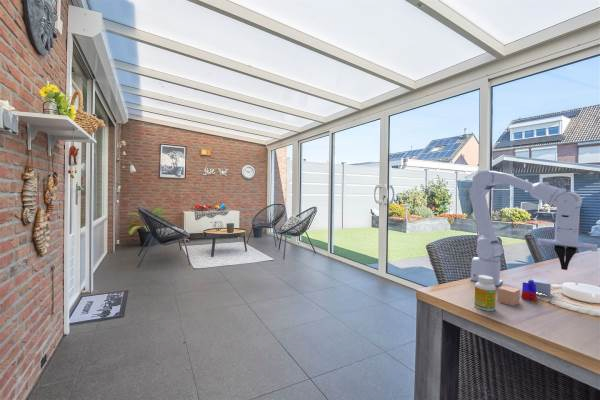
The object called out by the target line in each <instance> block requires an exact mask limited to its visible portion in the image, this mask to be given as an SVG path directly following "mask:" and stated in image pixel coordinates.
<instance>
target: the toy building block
mask: <svg viewBox="0 0 600 400" xmlns="http://www.w3.org/2000/svg"><path fill="white" fill-rule="evenodd" d="M521 286H522V289H521V299H524V300H529V301H534V302H535V301H536V300H537V299H536V298H537V295H536V284H534V281H532V279H529V280H528V282H524V281H523V282H522V285H521Z"/></svg>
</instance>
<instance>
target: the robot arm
mask: <svg viewBox="0 0 600 400" xmlns="http://www.w3.org/2000/svg"><path fill="white" fill-rule="evenodd" d="M550 184H551V183H550V182H547V181H544V182H542V181H540V182H535V183H533V182H530V181H527V180H525V179H522V178H519V177H517V176H515V175H512V174H510V173H506V172H500V171H497V170H488V169H480V170H479V171H477V172H476V173H475V174H474V176H473V177H472V183H471V186H470V189H469V198H470V202H471V206H472V212H473V216H474V220H475V224H476V228H477V229H476V230H477V232H478V237H477V240H476V244H477V245H476V250H475V251H476V254H477V257H476V256H474V257H472V260H471V264H470V265H471V266H470V278H469V280H470V281H474V282H479V281H478V276H479V275H487V276H491V277H493V283H492V284H493V285H495V286H500V285H501V283H503V279H501V259H502V258H501V257H500V256H502V255H503V253H504V246H503V245H502V244H501V242H500V241H499V237H498V236H497V235H496V234H495V231H494V226H493V222H492V218H491V214H490V210H489V205H488V201H487V198H486V197H487V194H488V193H489V192H490V191H491V190H492V189H494V188H496V186H499V185H508V186H510V187H515V188H517V189H520V190H523V191H526V192H529V194H530V197H532V198H534V199H537V200H539V201H541V202H544V203H547V204H550V205H554V206H555V208H556V213H555V224H554V225H555V226H554V227H555V228H554V239H550V238H537V239H536V245H538V246H541V245H543V246H549V247H554V248H553V249H554V251H555V253H556V255H557V257H558V260H559V262H560V263H559V264H560V267H561V268H560V270H563V271H567V270H568V268H569V264H570V262H571V260H572V258H573V257H574V255H575V253H577V250H585V251H592V252H598V244H595V243H587V242H585V243H584V242H580V241H579V232H580V231H579V230H580V218H581V217H580V206H581V205H582V203H583V199H582V196H580V195H579V193H576V192H574V191H567V189H566V188H564V187H563V188H560V187H557V186H555V185H554V186H553V185H550Z"/></svg>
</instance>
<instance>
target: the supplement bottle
mask: <svg viewBox="0 0 600 400" xmlns="http://www.w3.org/2000/svg"><path fill="white" fill-rule="evenodd" d="M478 281H479V282H478ZM478 281H475V284H474V285H475V286H474V300H473V301H474V304H473V305H474V306H475V308H477V309H478V308H479V310H481V309H482V310H481V311H485V310H486V312H493V311H495V309H496V298H497V296H496V295H497V287H496V285H493V284H492V283H493V277H491V276H487V275H479V276H478Z"/></svg>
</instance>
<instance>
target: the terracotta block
mask: <svg viewBox="0 0 600 400" xmlns="http://www.w3.org/2000/svg"><path fill="white" fill-rule="evenodd" d="M520 292H521V289H519V288H515V287H510V286H507V285H502V286H499V287H497V296H496V298H497V300H496V301H497V302H499V303H502V304H505V305H508V306H511V307H514V306H516V305H518V304H520V297H521V296H520Z"/></svg>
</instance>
